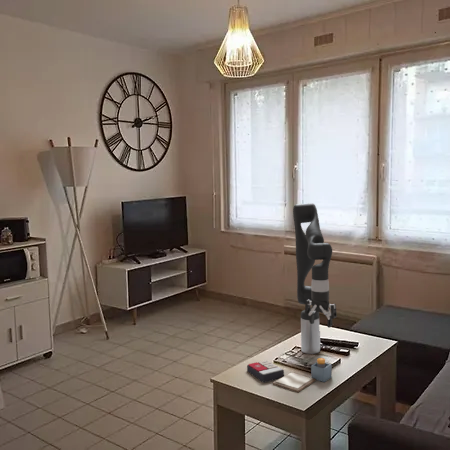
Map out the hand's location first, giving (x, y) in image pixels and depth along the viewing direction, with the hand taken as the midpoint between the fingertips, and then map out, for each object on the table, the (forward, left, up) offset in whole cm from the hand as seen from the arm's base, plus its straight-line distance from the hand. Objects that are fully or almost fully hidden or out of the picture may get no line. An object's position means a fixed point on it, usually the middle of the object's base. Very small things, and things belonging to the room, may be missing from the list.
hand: (320, 325), depth 217 cm
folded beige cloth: (+11, -7, -24) cm, 27 cm away
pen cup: (0, 0, -24) cm, 24 cm away
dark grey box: (+11, -22, -25) cm, 35 cm away
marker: (0, 0, -23) cm, 23 cm away
